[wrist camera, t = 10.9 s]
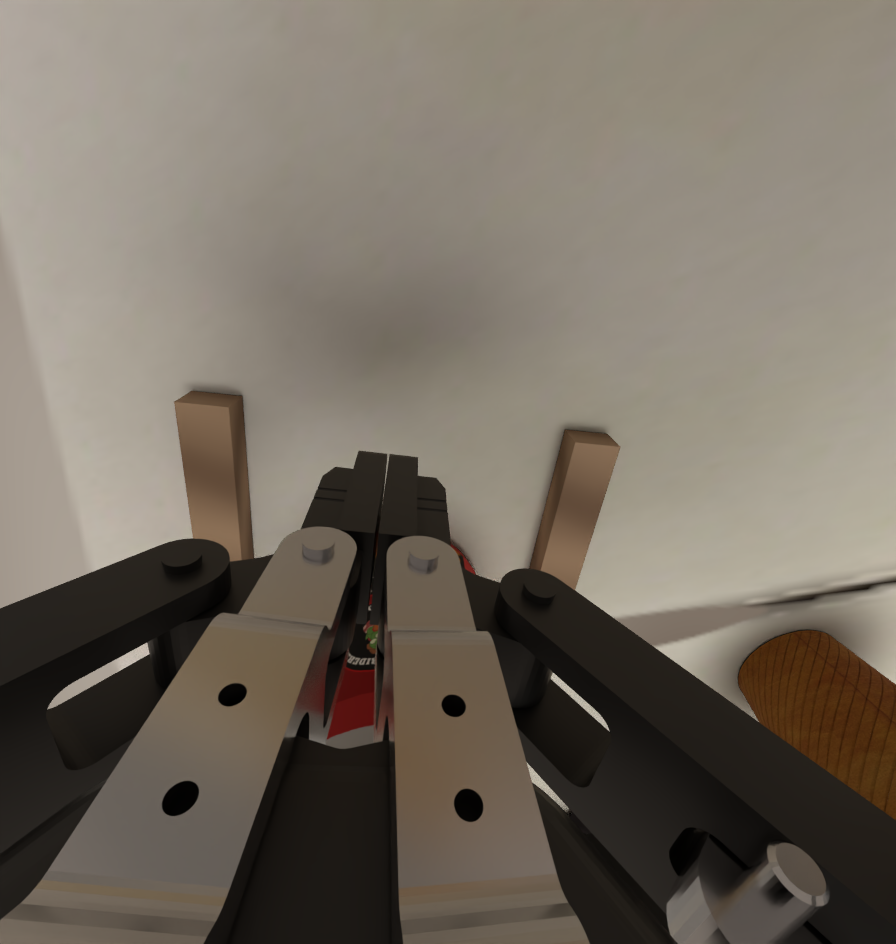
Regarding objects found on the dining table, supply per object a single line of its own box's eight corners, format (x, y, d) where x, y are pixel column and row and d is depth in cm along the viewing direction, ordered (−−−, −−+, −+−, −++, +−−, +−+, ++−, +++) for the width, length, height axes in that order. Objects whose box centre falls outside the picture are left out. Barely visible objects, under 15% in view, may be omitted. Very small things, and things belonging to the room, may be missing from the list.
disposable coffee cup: (810, 722, 31) (1018, 972, 20) (686, 709, 30) (838, 971, 19) (898, 619, 27) (1215, 862, 16) (759, 598, 26) (1004, 850, 15)
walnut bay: (191, 390, 19) (174, 401, 17) (607, 434, 21) (620, 446, 19) (229, 706, 27) (220, 730, 26) (522, 716, 29) (527, 739, 28)
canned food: (468, 513, 22) (508, 725, 12) (486, 632, 26) (529, 870, 16) (314, 538, 22) (230, 768, 12) (353, 653, 26) (313, 903, 16)
